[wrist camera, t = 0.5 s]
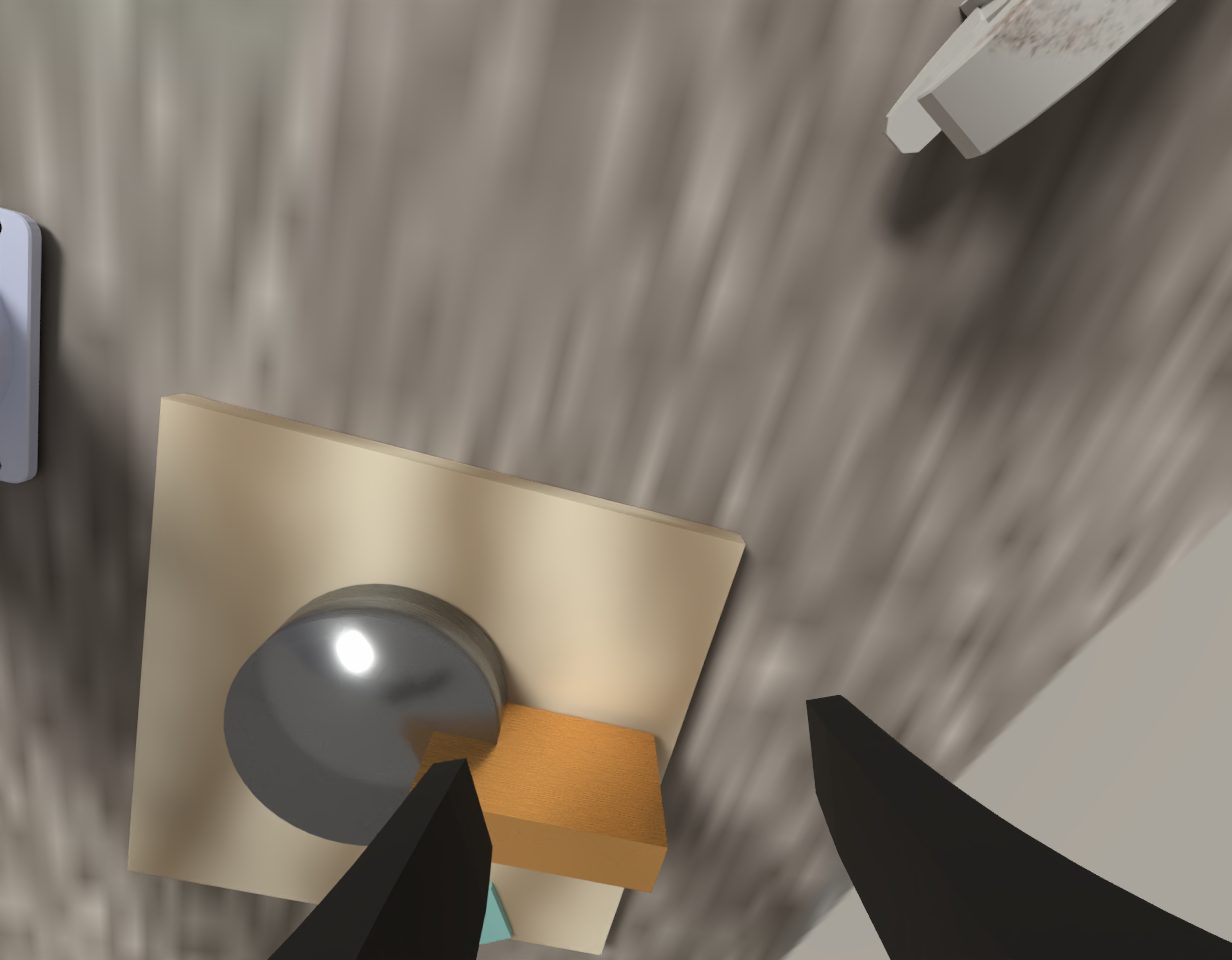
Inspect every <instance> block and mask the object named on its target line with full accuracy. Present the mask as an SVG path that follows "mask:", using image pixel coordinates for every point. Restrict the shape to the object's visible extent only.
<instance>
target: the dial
mask: <svg viewBox="0 0 1232 960" xmlns="http://www.w3.org/2000/svg"><path fill="white" fill-rule="evenodd" d="M224 734H225V741H226V745H227V748H228V752H229V755H230V758H231V760H232V762H233V764H234V767H235V769H236V771H237V772H238V774H239V776H240V777H241V779H242V780H243V782H244V784H245V785H246V786H247V787H248V789H249V790H250V791H251V792H252V793H253V795H254V796H255V797H256V798H257V799H258V800H259V801H260V802H261V803H262V804H263V805H264V806H265V807H266V808H268V809H269V810H270V811H272V812H273V813H274V814H276V815H277V816H278V817H279V818H281V819H283V820H284V821H286V822H288V823H289V824H291V825H293V826H294V827H296V828H299V829H301V830H303V831H305V832H307V833H309V834H312V835H315V836H318V837H320V838H323V839H326V840H330V841H335V842H339V843H343V844H351V845H358V846H368V845H369V844H370V843H371V842H372V840H373V839H374V838H375V837H376V835H377V834H378V833H379V832H380V830H381V829H382V828H383V827H384V825H385V824H386V823H387V822H388V820H389V819H390V818H391V817H392V815H393V814H394V813H395V811H396V810H397V809H398V808H399V806H400V805H401V804H402V802H403V801H404V800H405V799H406V797H407V796H408V795H409V793H410V792H411V791H412V790H413V788H414V787H415V786H416V784H417V783H418V782H419V781H420V779H421V778H422V777H423V776H424V774H425V773H426V772H427V771H428V769H429V768H430V767H431V766H432V765H433V763H438V762H444V761H450V760H456V759H462V758H467V762H468V765H469V768H470V772H471V775H472V779H473V782H474V785H475V789H476V792H477V795H478V799H479V802H480V805H481V809H482V812H483V816H484V819H485V822H486V826H487V829H488V832H489V836H490V839H491V842H492V846H493V850H492V861H491V862H492V863H497V864H502V865H508V866H513V867H518V868H523V869H529V870H534V871H539V872H544V873H550V874H555V875H560V876H565V877H571V878H576V879H581V880H586V881H592V882H597V883H602V884H607V885H613V886H618V887H623V888H628V889H634V890H639V891H644V892H649V893H652V890H653V887H654V885H655V882H656V879H657V876H658V874H659V871H660V868H661V866H662V863H663V860H664V857H665V855H666V852H667V849H668V844H667V836H666V828H665V820H664V812H663V804H662V796H661V788H660V780H659V772H658V764H657V756H656V748H655V740H654V734H651V733H646V732H642V731H637V730H632V729H628V728H623V727H619V726H614V725H609V724H605V723H600V722H595V721H591V720H586V719H582V718H577V717H572V716H568V715H563V714H558V713H554V712H549V711H545V710H540V709H535V708H531V707H526V706H521V705H517V704H512V703H508V689H507V681H506V676H505V673H504V669H503V665H502V663H501V661H500V659H499V656H498V654H497V652H496V650H495V649H494V647H493V645H492V644H491V642H490V641H489V639H488V638H487V637H486V635H485V634H484V633H483V632H482V630H481V629H480V628H479V627H478V626H477V625H476V624H475V623H474V622H473V621H472V620H471V619H470V618H469V617H467V616H466V615H465V614H463V613H462V612H461V611H459V610H458V609H457V608H455V607H454V606H452V605H450V604H449V603H447V602H445V601H443V600H441V599H440V598H437V597H435V596H433V595H430V594H428V593H425V592H422V591H419V590H416V589H412V588H409V587H403V586H397V585H392V584H361V585H354V586H349V587H343V588H340V589H337V590H334V591H330V592H327V593H325V594H323V595H321V596H319V597H317V598H315V599H313V600H311V601H310V602H308V603H307V604H305V605H304V606H302V607H301V608H299V609H298V610H297V611H296V612H295V613H294V614H293V615H291V616H290V617H289V618H288V619H287V620H286V621H285V622H284V623H283V624H282V625H281V626H280V627H279V628H278V629H277V630H276V631H275V632H274V633H273V634H272V635H271V636H270V637H269V638H268V639H267V640H266V641H265V642H264V643H263V644H262V645H261V646H260V647H259V648H258V649H257V650H256V651H255V652H254V653H253V654H252V655H251V656H250V657H249V658H248V659H247V661H246V662H245V663H244V664H243V665H242V667H241V668H240V669H239V671H238V673H237V675H236V676H235V678H234V680H233V682H232V684H231V687H230V689H229V692H228V695H227V698H226V703H225V708H224Z"/></svg>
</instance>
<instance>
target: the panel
mask: <svg viewBox="0 0 1232 960" xmlns="http://www.w3.org/2000/svg"><path fill="white" fill-rule="evenodd" d="M745 545H746V544H745V543H744V541H743V539H742V538H741V536H740V535H739V533H735V532H731V531H728V530H724V529H720V528H716V527H712V526H708V525H704V524H700V523H696V522H692V521H688V520H684V519H680V518H676V517H672V516H668V515H664V514H660V513H656V512H652V511H648V510H644V509H640V508H637V507H633V506H629V505H625V504H621V503H617V502H613V501H609V500H605V499H601V498H597V497H593V496H589V495H585V494H581V493H577V492H573V491H569V490H565V489H561V488H557V487H553V486H549V485H546V484H542V483H538V482H534V481H530V480H526V479H522V478H518V477H514V476H510V475H506V474H502V473H498V472H494V471H490V470H486V469H482V468H478V467H474V466H470V465H466V464H462V463H458V462H455V461H451V460H447V459H443V458H439V457H435V456H431V455H427V454H423V453H419V452H415V451H411V450H407V449H403V448H399V447H395V446H391V445H387V444H383V443H379V442H375V441H371V440H368V439H364V438H360V437H356V436H352V435H348V434H344V433H340V432H336V431H332V430H328V429H324V428H320V427H316V426H312V425H308V424H304V423H300V422H296V421H292V420H288V419H284V418H280V417H277V416H273V415H269V414H265V413H261V412H257V411H253V410H249V409H245V408H241V407H237V406H233V405H229V404H225V403H221V402H217V401H213V400H209V399H205V398H201V397H197V396H193V395H189V394H186V393H182V394H177V395H172V396H167V397H162V398H161V408H160V422H159V436H158V450H157V463H156V477H155V491H154V505H153V519H152V532H151V546H150V560H149V574H148V588H147V601H146V615H145V629H144V643H143V657H142V670H141V684H140V698H139V712H138V726H137V739H136V753H135V767H134V781H133V794H132V808H131V822H130V836H129V850H128V863H127V871H133V872H138V873H144V874H149V875H155V876H161V877H166V878H172V879H177V880H183V881H189V882H194V883H200V884H205V885H211V886H216V887H222V888H228V889H233V890H239V891H244V892H250V893H256V894H261V895H267V896H272V897H278V898H284V899H289V900H295V901H300V902H306V903H312V904H317V905H318V904H319V903H320V902H321V901H322V900H323V899H324V897H325V896H326V895H327V894H328V893H329V892H330V890H331V889H332V888H333V887H334V886H335V885H336V884H337V882H338V881H339V880H340V879H341V878H342V877H343V875H344V874H345V873H346V872H347V871H348V870H349V869H350V867H351V866H352V865H353V864H354V863H355V861H356V860H357V859H358V858H359V857H360V855H361V854H362V853H363V852H364V850H365V849H366V848H367V847H368V846H358V845H351V844H343V843H339V842H335V841H330V840H326V839H323V838H320V837H318V836H315V835H312V834H309V833H307V832H305V831H303V830H301V829H299V828H296V827H294V826H293V825H291V824H289V823H288V822H286V821H284V820H283V819H281V818H279V817H278V816H277V815H276V814H274V813H273V812H272V811H270V810H269V809H268V808H266V807H265V806H264V805H263V804H262V803H261V802H260V801H259V800H258V799H257V798H256V797H255V796H254V795H253V793H252V792H251V791H250V790H249V789H248V787H247V786H246V785H245V784H244V782H243V780H242V779H241V777H240V776H239V774H238V772H237V771H236V769H235V767H234V764H233V762H232V760H231V758H230V755H229V752H228V748H227V745H226V741H225V734H224V708H225V703H226V698H227V695H228V692H229V689H230V687H231V684H232V682H233V680H234V678H235V676H236V675H237V673H238V671H239V669H240V668H241V667H242V665H243V664H244V663H245V662H246V661H247V659H248V658H249V657H250V656H251V655H252V654H253V653H254V652H255V651H256V650H257V649H258V648H259V647H260V646H261V645H262V644H263V643H264V642H265V641H266V640H267V639H268V638H269V637H270V636H271V635H272V634H273V633H274V632H275V631H276V630H277V629H278V628H279V627H280V626H281V625H282V624H283V623H284V622H285V621H286V620H287V619H288V618H289V617H290V616H291V615H293V614H294V613H295V612H296V611H297V610H298V609H299V608H301V607H302V606H304V605H305V604H307V603H308V602H310V601H311V600H313V599H315V598H317V597H319V596H321V595H323V594H325V593H327V592H330V591H334V590H337V589H340V588H343V587H349V586H354V585H361V584H392V585H397V586H403V587H409V588H412V589H416V590H419V591H422V592H425V593H428V594H430V595H433V596H435V597H437V598H440V599H441V600H443V601H445V602H447V603H449V604H450V605H452V606H454V607H455V608H457V609H458V610H459V611H461V612H462V613H463V614H465V615H466V616H467V617H469V618H470V619H471V620H472V621H473V622H474V623H475V624H476V625H477V626H478V627H479V628H480V629H481V630H482V632H483V633H484V634H485V635H486V637H487V638H488V639H489V641H490V642H491V644H492V645H493V647H494V649H495V650H496V652H497V654H498V656H499V659H500V661H501V663H502V665H503V669H504V673H505V676H506V681H507V689H508V703H512V704H517V705H521V706H526V707H531V708H535V709H540V710H545V711H549V712H554V713H558V714H563V715H568V716H572V717H577V718H582V719H586V720H591V721H595V722H600V723H605V724H609V725H614V726H619V727H623V728H628V729H632V730H637V731H642V732H646V733H651V734H654V740H655V748H656V756H657V764H658V772H659V780H660V786H661V783H662V780H663V777H664V774H665V771H666V769H667V766H668V763H669V760H670V757H671V754H672V752H673V749H674V746H675V743H676V740H677V737H678V735H679V732H680V729H681V726H682V723H683V720H684V718H685V715H686V712H687V709H688V706H689V703H690V701H691V698H692V695H693V692H694V689H695V686H696V684H697V681H698V678H699V675H700V672H701V669H702V667H703V664H704V661H705V658H706V655H707V652H708V650H709V647H710V644H711V641H712V638H713V636H714V633H715V630H716V627H717V624H718V621H719V619H720V616H721V613H722V610H723V607H724V604H725V602H726V599H727V596H728V593H729V590H730V587H731V585H732V582H733V579H734V576H735V573H736V570H737V568H738V565H739V562H740V559H741V556H742V553H743V551H744V548H745ZM490 882H493V885H494V887H495V889H496V892H497V894H498V897H499V899H500V901H501V904H502V906H503V909H504V911H505V914H506V916H507V918H508V921H509V923H510V926H511V928H512V935H511V938H508V939H513V940H519V941H524V942H530V943H535V944H541V945H547V946H552V947H558V948H563V949H569V950H575V951H580V952H586V953H591V954H597V955H601V953H602V950H603V947H604V944H605V941H606V938H607V936H608V933H609V930H610V927H611V924H612V922H613V919H614V916H615V913H616V910H617V907H618V905H619V902H620V899H621V896H622V893H623V890H624V888H623V887H618V886H613V885H607V884H602V883H597V882H592V881H586V880H581V879H576V878H571V877H565V876H560V875H555V874H550V873H544V872H539V871H534V870H529V869H523V868H518V867H513V866H508V865H502V864H497V863H492V862H491V872H490Z"/></svg>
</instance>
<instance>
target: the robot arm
mask: <svg viewBox="0 0 1232 960" xmlns="http://www.w3.org/2000/svg"><path fill="white" fill-rule="evenodd" d="M0 222H1V225H2V230H1V233H0V462H1V466H2V467H0V481H5V482H9V483H21V482H24V481H27V480H30V479H32V478H33V477H34V476H35V475H36V472H37V457H38V403H39V349H40V294H41V240H42V237H41V231H40V228H39V227H38V225H37V223H36V222H35V221H34V220H33V219H32V218H31V217H29V216H27V215H25V214H23V213H20V212H16V211H12V210H9V209H5V208H1V207H0ZM806 704H807V713H808V723H809V732H810V742H811V751H812V760H813V770H814V779H815V788H816V795H817V797H818V800H819V803H820V806H821V808H822V811H823V814H824V817H825V819H826V822H827V825H828V828H829V830H830V833H831V836H832V838H833V841H834V843H835V846H836V849H837V851H838V854H839V856H840V858H841V860H842V862H843V864H844V866H845V868H846V870H847V872H848V874H849V876H850V879H851V881H852V883H853V885H854V887H855V889H856V891H857V893H858V894H859V897H860V899H861V901H862V903H863V905H864V907H865V909H866V911H867V913H868V915H869V917H870V919H871V921H872V923H873V925H874V927H875V929H876V931H877V933H878V935H879V937H880V939H881V941H882V943H883V945H884V947H885V949H886V951H887V953H888V955H889V957H890V959H891V960H1232V943H1231V942H1229V941H1227V940H1224V939H1222V938H1220V937H1218V936H1216V935H1214V934H1211V933H1209V932H1207V931H1205V930H1203V929H1201V928H1199V927H1197V926H1195V925H1193V924H1191V923H1189V922H1187V921H1185V920H1182V919H1181V918H1178V917H1176V916H1174V915H1172V914H1170V913H1168V912H1166V911H1164V910H1162V909H1160V908H1158V907H1156V906H1154V905H1153V904H1151V903H1149V902H1147V901H1145V900H1143V899H1141V898H1139V897H1137V896H1135V895H1134V894H1132V893H1130V892H1128V891H1126V890H1124V889H1122V888H1120V887H1118V886H1116V885H1114V884H1113V883H1111V882H1109V881H1107V880H1105V879H1103V878H1101V877H1100V876H1098V875H1096V874H1094V873H1092V872H1091V871H1089V870H1087V869H1085V868H1083V867H1082V866H1080V865H1078V864H1076V863H1074V862H1073V861H1071V860H1069V859H1067V858H1066V857H1064V856H1063V855H1061V854H1059V853H1057V852H1056V851H1054V850H1053V849H1051V848H1049V847H1048V846H1046V845H1044V844H1043V843H1041V842H1039V841H1037V840H1036V839H1034V838H1032V837H1031V836H1029V835H1028V834H1026V833H1024V832H1023V831H1021V830H1019V829H1018V828H1016V827H1014V826H1013V825H1012V824H1010V823H1008V822H1007V821H1005V820H1004V819H1002V818H1001V817H999V816H998V815H996V814H995V813H994V812H992V811H991V810H989V809H988V808H986V807H985V806H983V805H982V804H980V803H979V802H977V801H976V800H975V799H973V798H972V797H970V796H969V795H967V794H966V793H965V792H963V791H962V790H960V789H959V788H958V787H956V786H955V785H954V784H952V783H951V782H949V781H948V780H947V779H945V778H944V777H943V776H941V775H940V774H939V773H937V772H936V771H935V770H933V769H932V768H931V767H930V766H928V765H927V764H926V763H924V762H923V761H922V760H920V759H919V758H918V757H916V756H915V755H914V754H912V753H911V752H910V751H909V750H907V749H906V748H905V747H904V746H902V745H901V744H900V743H899V742H897V741H896V740H895V739H894V738H892V737H891V736H890V735H889V734H888V733H886V732H885V731H884V730H883V729H881V728H880V727H879V726H878V725H877V724H875V723H874V722H873V721H872V720H871V719H869V718H868V717H867V716H866V715H865V714H863V713H862V712H861V711H860V710H859V709H858V708H856V707H855V706H854V705H853V704H852V703H850V702H849V701H848V700H847V699H845V698H844V697H843V696H841V695H836V696H830V697H824V698H818V699H812V700H806ZM492 850H493V846H492V842H491V839H490V836H489V832H488V829H487V826H486V822H485V819H484V816H483V812H482V809H481V805H480V802H479V799H478V795H477V792H476V789H475V785H474V782H473V779H472V775H471V772H470V768H469V765H468V762H467V758H462V759H456V760H450V761H444V762H438V763H433V765H432V766H431V767H430V768H429V769H428V771H427V772H426V773H425V774H424V776H423V777H422V778H421V779H420V781H419V782H418V783H417V784H416V786H415V787H414V788H413V790H412V791H411V792H410V793H409V795H408V796H407V797H406V799H405V800H404V801H403V802H402V804H401V805H400V806H399V808H398V809H397V810H396V811H395V813H394V814H393V815H392V817H391V818H390V819H389V820H388V822H387V823H386V824H385V825H384V827H383V828H382V829H381V830H380V832H379V833H378V834H377V835H376V837H375V838H374V839H373V840H372V842H371V843H370V844H369V845H368V847H367V848H366V849H365V850H364V852H363V853H362V854H361V855H360V857H359V858H358V859H357V860H356V861H355V863H354V864H353V865H352V866H351V867H350V869H349V870H348V871H347V872H346V873H345V874H344V875H343V877H342V878H341V879H340V880H339V881H338V882H337V884H336V885H335V886H334V887H333V888H332V889H331V890H330V892H329V893H328V894H327V895H326V896H325V897H324V899H323V900H322V901H321V902H320V903H319V904H318V905H317V907H316V908H315V909H314V910H313V911H312V912H311V914H310V915H309V916H308V917H307V918H306V919H305V920H304V922H303V923H302V924H301V925H300V926H299V927H298V928H297V929H296V930H295V931H294V932H293V933H292V935H291V936H290V937H289V938H288V939H287V940H286V941H285V942H284V943H283V944H282V945H281V946H280V947H279V948H278V949H277V950H276V951H275V952H274V954H273V955H272V956H271V957H270V958H269V959H268V960H476V957H477V952H478V948H479V943H480V938H481V934H482V929H483V924H484V919H485V914H486V908H487V900H488V891H489V882H490V872H491V861H492Z"/></svg>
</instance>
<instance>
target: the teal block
mask: <svg viewBox="0 0 1232 960" xmlns="http://www.w3.org/2000/svg"><path fill="white" fill-rule="evenodd" d="M511 935H512V928H511V926H510V923H509V921H508V918H507V916H506V914H505V911H504V909H503V906H502V904H501V901H500V899H499V897H498V894H497V892H496V889H495V887H494V885H493V882H489V891H488V900H487V908H486V914H485V919H484V924H483V929H482V934H481V938H480V943H479V945H481V944H486V943H490V942H495V941H499V940H504V939H508V938H511Z"/></svg>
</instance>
